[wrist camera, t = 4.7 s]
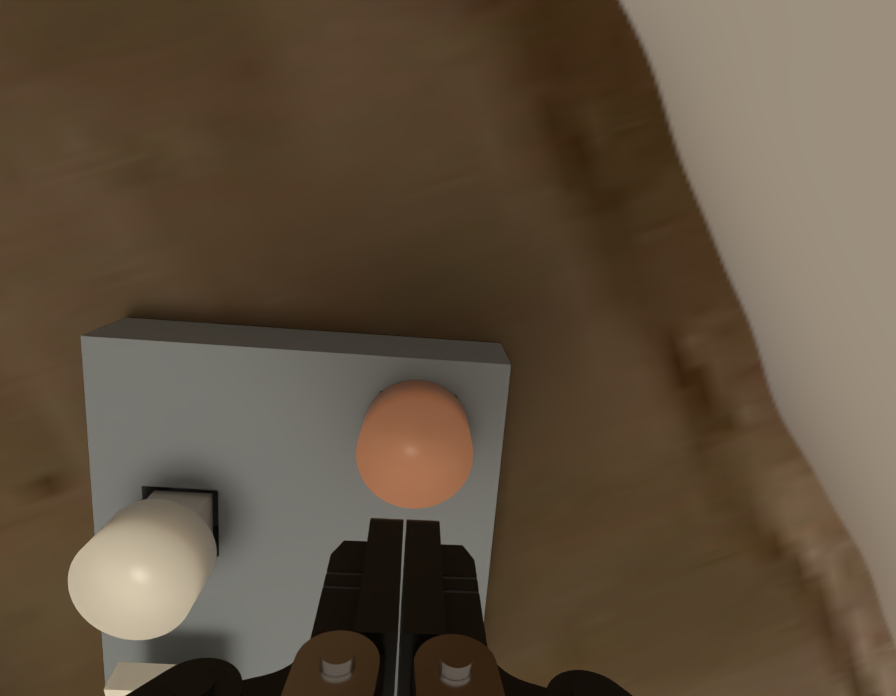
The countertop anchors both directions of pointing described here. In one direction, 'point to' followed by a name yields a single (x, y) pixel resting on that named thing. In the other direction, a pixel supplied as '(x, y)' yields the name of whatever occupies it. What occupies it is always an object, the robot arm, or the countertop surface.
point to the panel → (272, 463)
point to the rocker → (132, 677)
